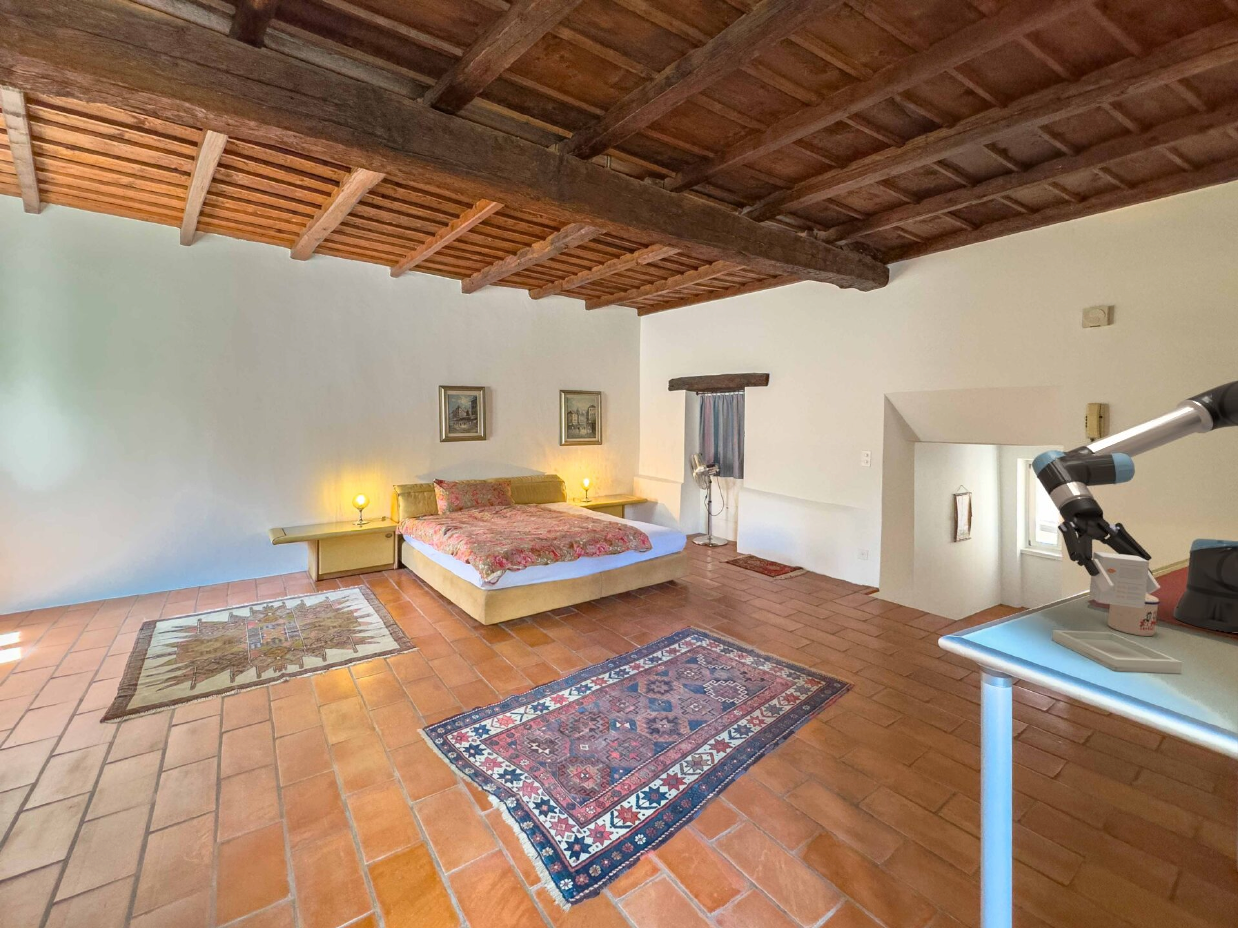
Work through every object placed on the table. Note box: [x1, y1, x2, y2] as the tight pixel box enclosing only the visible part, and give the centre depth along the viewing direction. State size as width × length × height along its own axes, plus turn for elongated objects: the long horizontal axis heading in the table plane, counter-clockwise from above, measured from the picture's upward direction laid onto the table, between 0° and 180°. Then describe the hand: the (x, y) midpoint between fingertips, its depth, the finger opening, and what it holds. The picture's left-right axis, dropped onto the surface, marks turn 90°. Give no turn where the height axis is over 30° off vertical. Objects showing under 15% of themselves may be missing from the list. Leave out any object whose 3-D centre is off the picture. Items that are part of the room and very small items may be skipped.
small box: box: [1088, 551, 1150, 608], centre depth 120 cm, size 8×6×10 cm
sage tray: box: [1051, 629, 1183, 674], centre depth 121 cm, size 14×16×2 cm
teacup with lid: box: [1107, 592, 1161, 637], centre depth 138 cm, size 12×9×12 cm
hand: (1130, 589), depth 117 cm, fingers closed on small box, 9 cm apart
